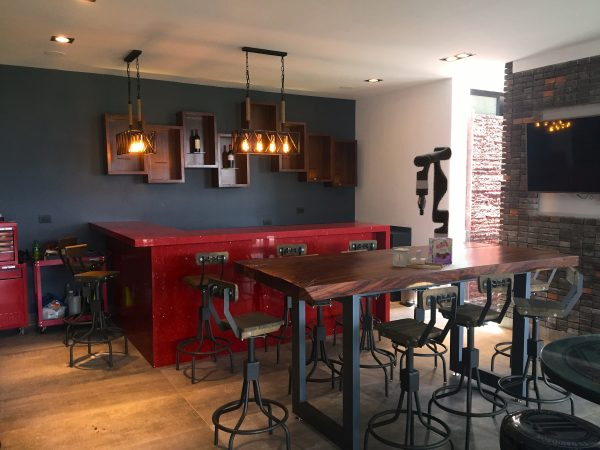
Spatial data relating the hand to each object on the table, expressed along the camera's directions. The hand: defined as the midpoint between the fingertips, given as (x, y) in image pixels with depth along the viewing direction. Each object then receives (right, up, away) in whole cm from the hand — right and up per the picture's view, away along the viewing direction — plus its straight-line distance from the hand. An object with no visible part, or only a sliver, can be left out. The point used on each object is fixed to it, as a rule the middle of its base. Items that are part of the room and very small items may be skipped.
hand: (421, 215), depth 318 cm
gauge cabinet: (-13, -31, -4) cm, 34 cm away
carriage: (-4, -30, -8) cm, 31 cm away
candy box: (+13, -31, +4) cm, 34 cm away
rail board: (-1, -32, -10) cm, 33 cm away
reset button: (-13, -25, -4) cm, 29 cm away
